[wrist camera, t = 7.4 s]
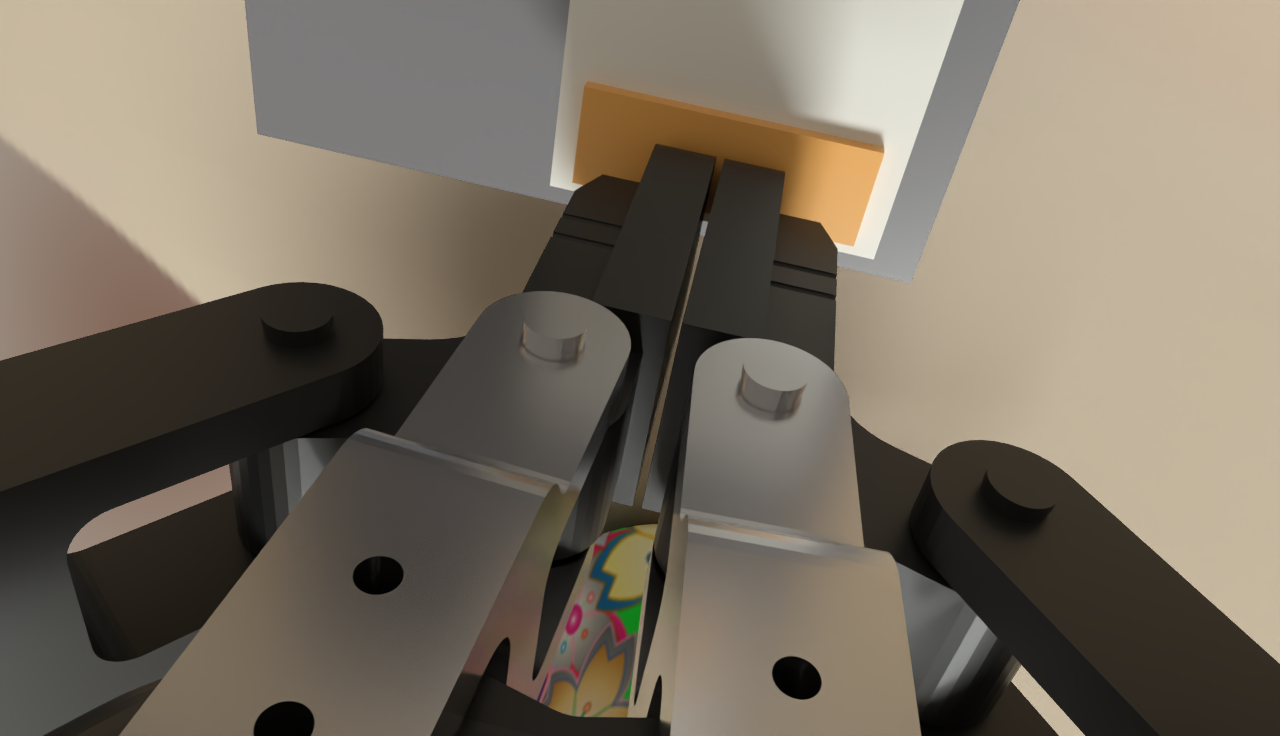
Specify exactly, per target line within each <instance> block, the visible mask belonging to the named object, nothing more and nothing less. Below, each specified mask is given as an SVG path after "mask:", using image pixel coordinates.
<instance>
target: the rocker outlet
mask: <svg viewBox="0 0 1280 736" xmlns="http://www.w3.org/2000/svg"><path fill="white" fill-rule="evenodd" d="M963 3H964V0H570V5H569V14H568V23H567V32H566V41H565V51H564V60H563V69H562V78H561V87H560V96H559V106H558V115H557V124H556V133H555V142H554V151H553V161H552V170H551V179H550V186H553V187H558V188H562V189H566V190H571V191H575V190H576V189H578V188H580V187H581V186H583V185H585V184H587V183H588V182H590V181H592V180H594V179H595V178H597V177H599V176H601V175H602V174H604V175H608V176H613V177H617V178H622V179H626V180H631V181H635V182H640V181H641V179H642V176H643V174H644V171H645V169H646V166H647V164H648V161H649V159H650V156H651V154H652V151H653V149H654V146H655V144H661V145H665V146H670V147H674V148H679V149H683V150H688V151H693V152H697V153H702V154H706V155H711V156H715V157H716V163H715V168H714V173H713V177H712V182H711V187H710V191H709V196H708V200H707V205H706V210H705V214H704V219H703V221H707V222H708V221H709V217H710V213H711V209H712V205H713V201H714V197H715V193H716V189H717V185H718V182H719V178H720V174H721V170H722V166H723V162H724V158H725V159H730V160H734V161H739V162H743V163H748V164H752V165H757V166H761V167H766V168H770V169H775V170H780V171H784V172H785V179H784V186H783V194H782V201H781V209H780V214H784V215H789V216H793V217H798V218H802V219H807V220H811V221H816V222H820V223H821V224H822V226H823V227H824V229H825V230H826V232H827V233H828V235H829V236H830V238H831V239H832V241H833V242H834V244H835V245H836V247H837V249H838V252H843V253H847V254H851V255H856V256H860V257H864V258H869V259H873V260H874V257H875V254H876V252H877V249H878V246H879V243H880V240H881V237H882V234H883V231H884V229H885V226H886V223H887V220H888V217H889V214H890V211H891V209H892V206H893V203H894V200H895V197H896V194H897V191H898V189H899V186H900V183H901V180H902V177H903V174H904V171H905V169H906V166H907V163H908V160H909V157H910V154H911V151H912V149H913V146H914V143H915V140H916V137H917V134H918V131H919V128H920V126H921V123H922V120H923V117H924V114H925V111H926V108H927V106H928V103H929V100H930V97H931V94H932V91H933V88H934V86H935V83H936V80H937V77H938V74H939V71H940V68H941V66H942V63H943V60H944V57H945V54H946V51H947V48H948V45H949V43H950V40H951V37H952V34H953V31H954V28H955V25H956V23H957V20H958V17H959V14H960V11H961V8H962V5H963Z"/></svg>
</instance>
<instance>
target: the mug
mask: <svg viewBox="0 0 1280 736" xmlns="http://www.w3.org/2000/svg"><path fill="white" fill-rule="evenodd" d="M656 529H657V524H647V525H638V526H631V527H625V528H620V529H616V530H612V531H609V532H605V533H602V534H600V536H599V537H598V539H597V540H596V541H595V545H594V551H593V556H592V560H591V563H590V566H589V569H588V571H587V574H586V576H585V579H584V581H583V584H582V586H581V589H580V592H579V594H578V597H577V599H576V602H575V604H574V607H573V609H572V612H571V614H570V617H569V620H568V622H567V625H566V627H565V630H564V632H563V635H562V637H561V640H560V642H559V645H558V647H557V650H556V653H555V655H554V658H553V660H552V663H551V665H550V668H549V670H548V673H547V675H546V678H545V680H544V683H543V686H542V688H541V691H540V693H539V696H538V698H537V701H538V702H540V703H542V704H544V705H546V706H548V707H550V708H552V709H554V710H556V711H558V712H561V713H563V714H567V715H571V716H579V717H627V716H628V708H629V701H630V693H631V685H632V677H633V669H634V662H635V654H636V646H637V638H638V631H639V623H640V615H641V607H642V599H643V592H644V584H645V577H646V572H647V568H648V564H649V560H650V556H651V551H652V547H653V543H654V539H655V533H656Z"/></svg>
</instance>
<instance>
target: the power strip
mask: <svg viewBox="0 0 1280 736" xmlns="http://www.w3.org/2000/svg"><path fill="white" fill-rule="evenodd" d="M1019 1H1020V0H964V3H963V5H962V8H961V11H960V14H959V17H958V20H957V23H956V25H955V28H954V31H953V34H952V37H951V40H950V43H949V45H948V48H947V51H946V54H945V57H944V60H943V63H942V66H941V68H940V71H939V74H938V77H937V80H936V83H935V86H934V88H933V91H932V94H931V97H930V100H929V103H928V106H927V108H926V111H925V114H924V117H923V120H922V123H921V126H920V128H919V131H918V134H917V137H916V140H915V143H914V146H913V149H912V151H911V154H910V157H909V160H908V163H907V166H906V169H905V171H904V174H903V177H902V180H901V183H900V186H899V189H898V191H897V194H896V197H895V200H894V203H893V206H892V209H891V211H890V214H889V217H888V220H887V223H886V226H885V229H884V231H883V234H882V237H881V240H880V243H879V246H878V249H877V252H876V254H875V257H874V260H873V259H869V258H864V257H860V256H856V255H851V254H847V253H843V252H838V253H837V267H841V268H846V269H850V270H854V271H859V272H863V273H867V274H872V275H876V276H880V277H885V278H889V279H894V280H898V281H902V282H907V283H911V280H912V278H913V275H914V273H915V270H916V267H917V265H918V262H919V260H920V257H921V254H922V252H923V249H924V247H925V244H926V241H927V239H928V236H929V234H930V231H931V229H932V226H933V223H934V221H935V218H936V216H937V213H938V210H939V208H940V205H941V203H942V200H943V197H944V195H945V192H946V190H947V187H948V185H949V182H950V179H951V177H952V174H953V172H954V169H955V166H956V164H957V161H958V159H959V156H960V153H961V151H962V148H963V146H964V143H965V141H966V138H967V135H968V133H969V130H970V128H971V125H972V122H973V120H974V117H975V115H976V112H977V109H978V107H979V104H980V102H981V99H982V97H983V94H984V91H985V89H986V86H987V84H988V81H989V78H990V76H991V73H992V71H993V68H994V65H995V63H996V60H997V58H998V55H999V53H1000V50H1001V47H1002V45H1003V42H1004V40H1005V37H1006V34H1007V32H1008V29H1009V27H1010V24H1011V21H1012V19H1013V16H1014V14H1015V11H1016V8H1017V6H1018V3H1019ZM569 5H570V0H245V8H246V19H247V29H248V39H249V50H250V60H251V71H252V81H253V92H254V102H255V112H256V123H257V133H258V134H260V135H264V136H269V137H273V138H278V139H282V140H286V141H291V142H295V143H299V144H304V145H308V146H313V147H317V148H321V149H326V150H330V151H334V152H339V153H343V154H347V155H352V156H356V157H361V158H365V159H369V160H374V161H378V162H382V163H387V164H391V165H396V166H400V167H404V168H409V169H413V170H417V171H422V172H426V173H430V174H435V175H439V176H444V177H448V178H452V179H457V180H461V181H465V182H470V183H474V184H479V185H483V186H487V187H492V188H496V189H500V190H505V191H509V192H513V193H518V194H522V195H527V196H531V197H535V198H540V199H544V200H548V201H553V202H557V203H562V204H566V205H568V203H569V201H570V199H571V197H572V195H573V193H574V191H571V190H566V189H562V188H558V187H553V186H550V179H551V170H552V161H553V151H554V142H555V133H556V124H557V115H558V106H559V96H560V87H561V78H562V69H563V60H564V51H565V41H566V32H567V23H568V14H569ZM707 225H708V222H707V221H703V223H702V228H701V233H700V235H701V236H705V232H706V228H707Z"/></svg>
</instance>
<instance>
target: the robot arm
mask: <svg viewBox="0 0 1280 736" xmlns="http://www.w3.org/2000/svg"><path fill="white" fill-rule="evenodd" d="M715 163H716V157H715V156H711V155H706V154H702V153H697V152H693V151H688V150H683V149H679V148H674V147H670V146H665V145H661V144H655V146H654V149H653V151H652V154H651V156H650V159H649V161H648V164H647V166H646V169H645V171H644V174H643V176H642V179H641V181H640V182H635V181H631V180H626V179H622V178H617V177H613V176H608V175H604V174H602V175H601V176H599V177H597V178H595V179H594V180H592V181H590V182H588V183H587V184H585V185H583V186H581V187H580V188H578V189H576V190H575V191H574V193H573V195H572V197H571V199H570V201H569V203H568V205H567V207H566V209H565V211H564V213H563V217H562V218H560V220H559V222H558V224H557V226H556V228H555V230H554V233H553V237H551V238H550V240H549V242H548V244H547V246H546V248H545V250H544V252H543V254H542V255H541V257H540V259H539V261H538V263H537V265H536V267H535V269H534V271H533V273H532V275H531V277H530V279H529V281H528V283H527V285H526V287H525V289H524V291H523V292H522V293H519V294H514V295H511V296H508V297H505V298H503V299H501V300H499V301H496V302H495V303H493V304H492V305H490V306H489V307H488V308H486V310H485V311H484V312H483V313H482V314H481V315H480V317H479V318H478V319H477V321H476V322H475V324H474V325H473V326H472V328H471V329H470V331H469V332H468V333H467V335H466V336H463V337H459V338H451V339H435V340H422V339H383V324H382V319H381V317H380V315H379V313H378V312H377V310H376V309H375V308H374V307H373V306H372V305H371V304H370V303H369V302H368V301H366V300H365V299H364V298H362V297H360V296H358V295H357V294H355V293H353V292H350V291H348V290H345V289H342V288H339V287H335V286H331V285H326V284H319V283H306V282H296V283H282V284H274V285H270V286H265V287H261V288H257V289H254V290H250V291H247V292H243V293H240V294H236V295H233V296H229V297H225V298H222V299H218V300H215V301H211V302H208V303H204V304H201V305H197V306H193V307H190V308H186V309H183V310H180V311H176V312H172V313H169V314H165V315H162V316H158V317H154V318H151V319H147V320H144V321H140V322H137V323H133V324H129V325H126V326H122V327H119V328H116V329H112V330H109V331H105V332H101V333H97V334H94V335H90V336H87V337H83V338H80V339H76V340H73V341H69V342H66V343H62V344H58V345H55V346H51V347H48V348H44V349H41V350H38V351H34V352H30V353H26V354H23V355H19V356H16V357H12V358H9V359H5V360H2V361H0V736H1059V735H1058V734H1057V733H1056V732H1055V731H1054V730H1053V728H1052V727H1051V726H1050V725H1049V724H1048V723H1047V722H1046V721H1045V719H1044V718H1043V717H1042V716H1041V715H1040V714H1039V713H1038V711H1037V710H1036V709H1035V708H1034V707H1033V706H1032V705H1031V703H1030V702H1029V701H1028V700H1027V699H1026V698H1025V697H1024V696H1023V694H1022V693H1021V692H1020V691H1019V690H1018V689H1017V688H1016V686H1015V685H1014V684H1013V683H1012V682H1011V680H1012V679H1013V677H1014V676H1015V674H1016V672H1017V671H1018V669H1019V668H1020V666H1021V665H1022V666H1023V667H1024V668H1025V669H1026V670H1027V671H1028V672H1029V674H1030V675H1031V676H1032V677H1033V678H1034V679H1035V680H1036V681H1037V682H1038V684H1039V685H1040V686H1041V687H1042V688H1043V689H1044V690H1045V691H1046V692H1047V694H1048V695H1049V696H1050V697H1051V698H1052V699H1053V700H1054V701H1055V702H1056V704H1057V705H1058V706H1059V707H1060V708H1061V709H1062V710H1063V711H1064V712H1065V714H1066V715H1067V716H1068V717H1069V718H1070V719H1071V720H1072V721H1073V722H1074V724H1075V725H1076V726H1077V727H1078V728H1079V729H1080V730H1081V731H1082V732H1083V734H1084V735H1085V736H1280V664H1279V663H1278V662H1277V661H1276V660H1275V659H1274V658H1273V657H1271V656H1270V655H1269V654H1268V653H1267V652H1266V651H1265V650H1264V649H1262V648H1261V647H1260V646H1259V645H1258V644H1257V643H1256V642H1255V641H1254V640H1252V639H1251V638H1250V637H1249V636H1248V635H1247V634H1246V633H1245V632H1244V631H1242V630H1241V629H1240V628H1239V627H1238V626H1237V625H1236V624H1235V623H1233V622H1232V621H1231V620H1230V619H1229V618H1228V617H1227V616H1226V615H1225V614H1223V613H1222V612H1221V611H1220V610H1219V609H1218V608H1217V607H1216V606H1214V605H1213V604H1212V603H1211V602H1210V601H1209V600H1208V599H1207V598H1206V597H1204V596H1203V595H1202V594H1201V593H1200V592H1199V591H1198V590H1197V589H1196V588H1194V587H1193V586H1192V585H1191V584H1190V583H1189V582H1188V581H1187V580H1185V579H1184V578H1183V577H1182V576H1181V575H1180V574H1179V573H1178V572H1177V571H1175V570H1174V569H1173V568H1172V567H1171V566H1170V565H1169V564H1168V563H1167V562H1165V561H1164V560H1163V559H1162V558H1161V557H1160V556H1159V555H1158V554H1156V553H1155V552H1154V551H1153V550H1152V549H1151V548H1150V547H1149V546H1148V545H1146V544H1145V543H1144V542H1143V541H1142V540H1141V539H1140V538H1139V537H1138V536H1136V535H1135V534H1134V533H1133V532H1132V531H1131V530H1130V529H1129V528H1127V527H1126V526H1125V525H1124V524H1123V523H1122V522H1121V521H1120V520H1119V519H1117V518H1116V517H1115V516H1114V515H1113V514H1112V513H1111V512H1110V511H1108V510H1107V509H1106V508H1105V507H1104V506H1103V505H1102V504H1101V503H1100V502H1098V501H1097V500H1096V499H1095V498H1094V497H1093V496H1092V495H1091V494H1090V493H1088V492H1087V491H1086V490H1085V489H1084V488H1083V487H1082V486H1081V485H1079V484H1078V483H1077V482H1076V481H1075V480H1074V479H1073V478H1072V477H1070V476H1069V475H1068V474H1067V473H1065V472H1064V471H1063V470H1062V469H1060V468H1059V467H1057V466H1056V465H1054V464H1053V463H1051V462H1049V461H1048V460H1046V459H1044V458H1042V457H1040V456H1038V455H1036V454H1034V453H1032V452H1029V451H1027V450H1025V449H1022V448H1019V447H1016V446H1013V445H1009V444H1005V443H1000V442H995V441H986V440H971V441H964V442H959V443H956V444H953V445H951V446H948V447H947V448H945V449H944V450H942V451H941V452H940V453H939V454H938V455H937V457H936V458H935V459H934V461H933V463H932V464H929V463H927V462H925V461H923V460H921V459H919V458H917V457H914V456H912V455H910V454H908V453H906V452H904V451H902V450H899V449H897V448H895V447H893V446H891V445H889V444H888V443H886V442H884V441H882V440H880V439H879V438H877V437H876V436H874V435H873V434H871V433H870V432H868V431H867V430H866V429H865V428H863V427H862V426H861V425H860V424H858V423H857V422H856V421H855V420H854V419H853V418H852V417H851V416H850V408H849V399H848V395H847V391H846V389H845V387H844V385H843V383H842V381H841V380H840V378H839V377H838V376H837V374H836V373H835V372H834V348H835V316H836V301H835V298H836V285H837V279H836V275H837V253H838V249H837V247H836V245H835V244H834V242H833V241H832V239H831V238H830V236H829V235H828V233H827V232H826V230H825V229H824V227H823V226H822V224H821V223H820V222H816V221H811V220H807V219H802V218H798V217H793V216H789V215H784V214H780V209H781V201H782V194H783V186H784V179H785V172H784V171H780V170H775V169H770V168H766V167H761V166H757V165H752V164H748V163H743V162H739V161H734V160H730V159H725V158H724V162H723V166H722V170H721V174H720V178H719V182H718V185H717V189H716V193H715V197H714V201H713V205H712V209H711V213H710V217H709V221H708V225H707V228H706V232H705V236H704V240H703V244H702V248H701V252H700V256H699V260H698V264H697V267H696V271H695V275H694V279H693V283H692V287H691V291H690V295H689V299H688V303H687V306H686V310H685V314H684V318H683V322H682V326H681V331H680V336H679V340H678V345H677V349H676V354H675V358H674V363H673V367H672V372H671V377H670V381H669V386H668V390H667V395H666V399H665V404H664V409H663V413H662V418H661V422H660V427H659V431H658V436H657V440H656V445H655V450H654V454H653V459H652V463H651V468H650V472H649V477H648V482H647V486H646V491H645V495H644V500H643V504H642V509H646V510H651V511H655V512H659V513H660V516H659V520H658V524H657V529H656V533H655V539H654V543H653V547H652V551H651V556H650V560H649V564H648V568H647V572H646V577H645V584H644V592H643V599H642V607H641V615H640V623H639V631H638V638H637V646H636V654H635V662H634V669H633V677H632V685H631V693H630V701H629V708H628V716H627V717H579V716H571V715H567V714H563V713H561V712H558V711H556V710H554V709H552V708H550V707H548V706H546V705H544V704H542V703H540V702H538V701H537V698H538V696H539V693H540V691H541V688H542V686H543V683H544V680H545V678H546V675H547V673H548V670H549V668H550V665H551V663H552V660H553V658H554V655H555V653H556V650H557V647H558V645H559V642H560V640H561V637H562V635H563V632H564V630H565V627H566V625H567V622H568V620H569V617H570V614H571V612H572V609H573V607H574V604H575V602H576V599H577V597H578V594H579V592H580V589H581V586H582V584H583V581H584V579H585V576H586V574H587V571H588V569H589V566H590V563H591V560H592V556H593V551H594V545H595V541H596V540H597V539H598V537H599V536H600V534H601V533H602V531H603V528H604V526H605V523H606V519H607V516H608V512H609V509H610V505H611V502H616V503H620V504H624V505H628V506H633V502H634V498H635V494H636V490H637V486H638V483H639V479H640V475H641V471H642V467H643V463H644V460H645V456H646V452H647V448H648V444H649V440H650V436H651V433H652V429H653V425H654V421H655V417H656V413H657V409H658V406H659V402H660V398H661V394H662V390H663V386H664V382H665V379H666V375H667V371H668V367H669V363H670V359H671V356H672V352H673V348H674V344H675V340H676V336H677V332H678V329H679V325H680V321H681V317H682V313H683V308H684V304H685V300H686V296H687V291H688V287H689V283H690V278H691V274H692V269H693V265H694V260H695V255H696V251H697V246H698V242H699V237H700V233H701V228H702V223H703V219H704V214H705V210H706V205H707V200H708V196H709V191H710V187H711V182H712V177H713V173H714V168H715ZM227 464H229V468H230V476H231V483H232V491H229V492H227V493H224V494H222V495H220V496H217V497H214V498H212V499H209V500H207V501H204V502H202V503H199V504H197V505H194V506H192V507H189V508H187V509H184V510H182V511H179V512H177V513H174V514H172V515H170V516H167V517H165V518H162V519H159V520H157V521H155V522H152V523H149V524H147V525H144V526H142V527H139V528H137V529H134V530H132V531H129V532H127V533H124V534H122V535H119V536H117V537H115V538H112V539H110V540H107V541H105V542H102V543H100V544H97V545H94V546H92V547H89V548H87V549H84V550H81V551H78V552H75V553H70V554H67V551H68V548H69V545H70V543H71V541H72V540H73V538H74V537H75V535H76V534H77V533H78V532H79V530H80V529H81V528H82V527H84V526H85V524H87V523H88V522H89V521H91V520H92V519H93V518H95V517H97V516H98V515H100V514H102V513H104V512H106V511H108V510H110V509H113V508H115V507H118V506H121V505H123V504H126V503H128V502H131V501H134V500H136V499H139V498H141V497H144V496H147V495H149V494H152V493H154V492H157V491H160V490H162V489H165V488H168V487H170V486H173V485H175V484H178V483H180V482H183V481H186V480H188V479H191V478H194V477H196V476H199V475H201V474H204V473H207V472H209V471H212V470H214V469H217V468H220V467H222V466H225V465H227Z"/></svg>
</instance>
